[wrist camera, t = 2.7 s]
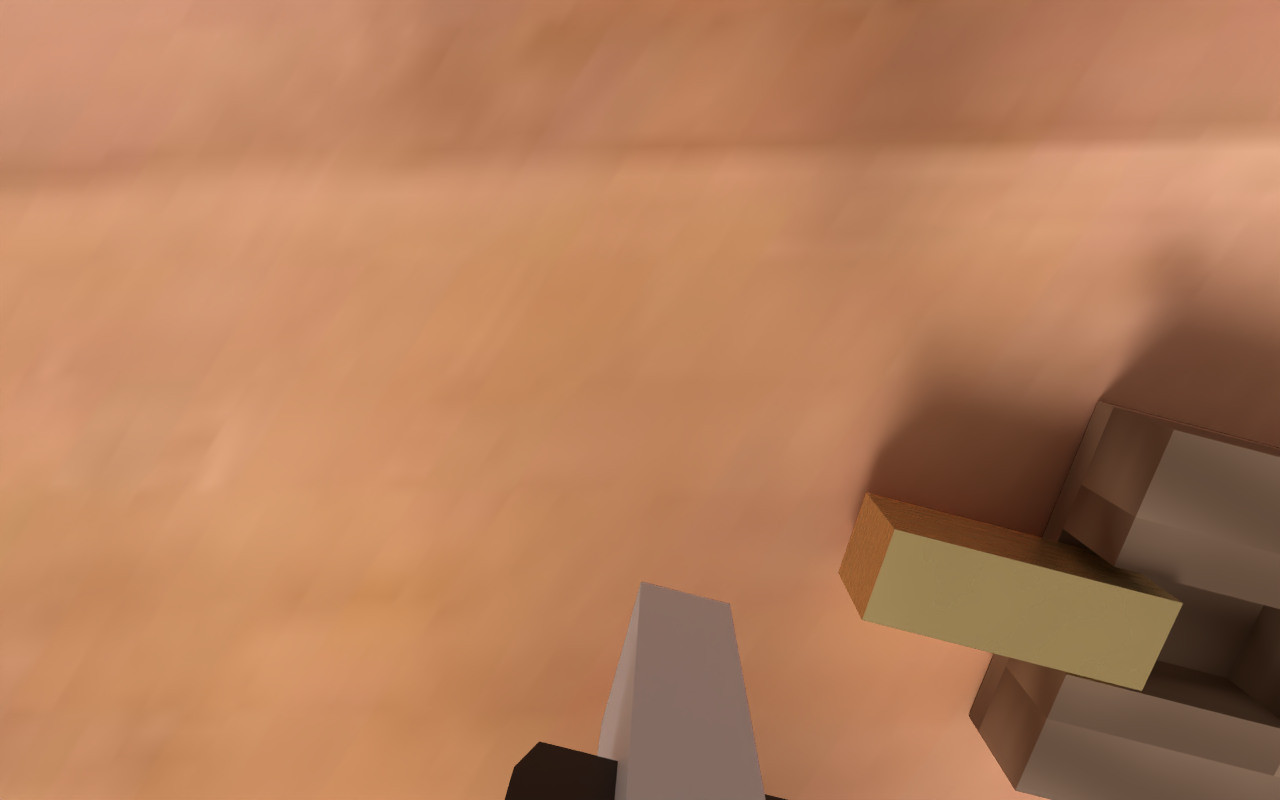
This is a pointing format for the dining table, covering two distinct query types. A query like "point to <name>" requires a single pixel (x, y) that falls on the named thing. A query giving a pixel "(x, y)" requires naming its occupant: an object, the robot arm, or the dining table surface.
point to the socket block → (1197, 643)
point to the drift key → (1004, 592)
